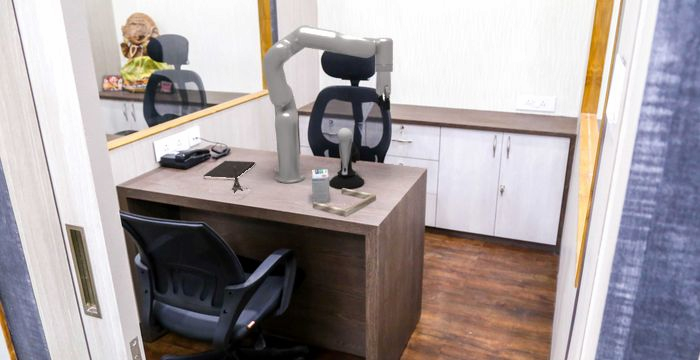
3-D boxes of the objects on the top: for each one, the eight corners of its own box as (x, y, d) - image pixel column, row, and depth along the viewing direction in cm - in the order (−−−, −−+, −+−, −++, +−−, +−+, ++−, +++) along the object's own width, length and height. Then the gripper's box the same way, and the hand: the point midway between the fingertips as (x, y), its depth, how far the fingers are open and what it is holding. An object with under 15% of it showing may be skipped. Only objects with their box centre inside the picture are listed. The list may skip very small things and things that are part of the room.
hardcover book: (203, 180, 239) (203, 175, 238) (225, 165, 260) (225, 160, 259) (236, 181, 235) (235, 176, 235) (255, 166, 257) (255, 161, 256)
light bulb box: (312, 194, 216) (311, 169, 212) (328, 193, 216) (327, 168, 213) (312, 203, 206) (311, 177, 202) (330, 202, 206) (328, 176, 203)
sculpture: (325, 188, 221) (322, 131, 213) (338, 171, 243) (336, 118, 235) (360, 190, 218) (359, 132, 210) (370, 172, 240) (370, 119, 231)
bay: (312, 208, 201) (312, 203, 200) (343, 192, 216) (343, 188, 216) (346, 216, 192) (346, 211, 191) (375, 199, 207) (375, 195, 207)
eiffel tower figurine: (241, 201, 212) (238, 170, 208) (219, 199, 214) (215, 168, 210) (257, 188, 226) (254, 159, 221) (235, 187, 228) (232, 158, 224)
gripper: (371, 66, 228) (371, 104, 234) (379, 71, 212) (379, 112, 218) (388, 65, 229) (388, 103, 235) (397, 70, 213) (396, 111, 219)
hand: (383, 108), depth 226 cm, fingers open, 9 cm apart
